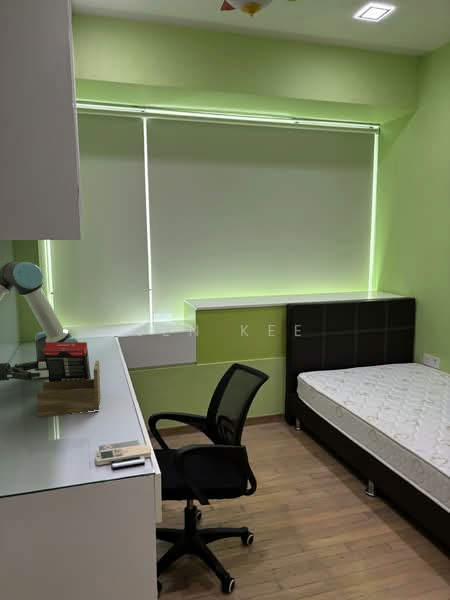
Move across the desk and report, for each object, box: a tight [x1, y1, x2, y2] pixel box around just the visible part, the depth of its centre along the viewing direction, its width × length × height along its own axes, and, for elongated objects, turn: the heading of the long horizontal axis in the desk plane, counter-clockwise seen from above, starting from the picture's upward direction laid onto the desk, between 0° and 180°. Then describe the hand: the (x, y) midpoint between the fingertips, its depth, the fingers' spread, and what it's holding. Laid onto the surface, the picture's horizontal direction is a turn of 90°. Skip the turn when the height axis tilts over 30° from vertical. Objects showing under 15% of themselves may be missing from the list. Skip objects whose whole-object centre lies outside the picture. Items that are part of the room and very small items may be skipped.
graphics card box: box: [43, 341, 92, 382], centre depth 188 cm, size 17×7×27 cm, turn 97°
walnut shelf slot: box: [36, 360, 102, 418], centre depth 180 cm, size 14×23×18 cm, turn 103°
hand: (51, 368), depth 189 cm, fingers open, 13 cm apart
